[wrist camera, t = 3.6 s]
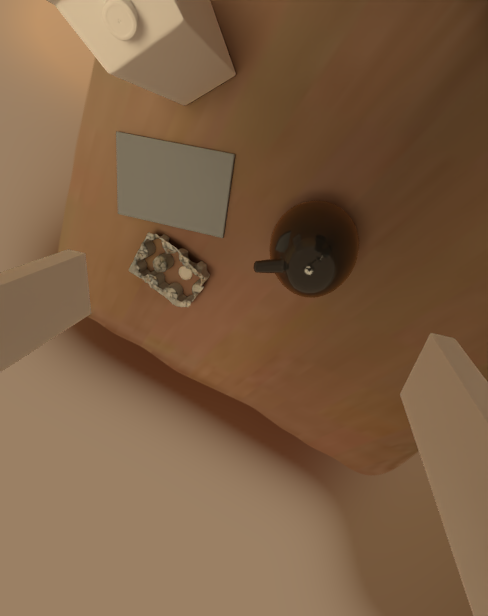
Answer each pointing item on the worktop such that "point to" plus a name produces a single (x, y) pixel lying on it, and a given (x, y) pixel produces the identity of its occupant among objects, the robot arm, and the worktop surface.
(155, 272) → the egg carton
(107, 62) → the milk carton
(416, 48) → the worktop surface
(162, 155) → the mat
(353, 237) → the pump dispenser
